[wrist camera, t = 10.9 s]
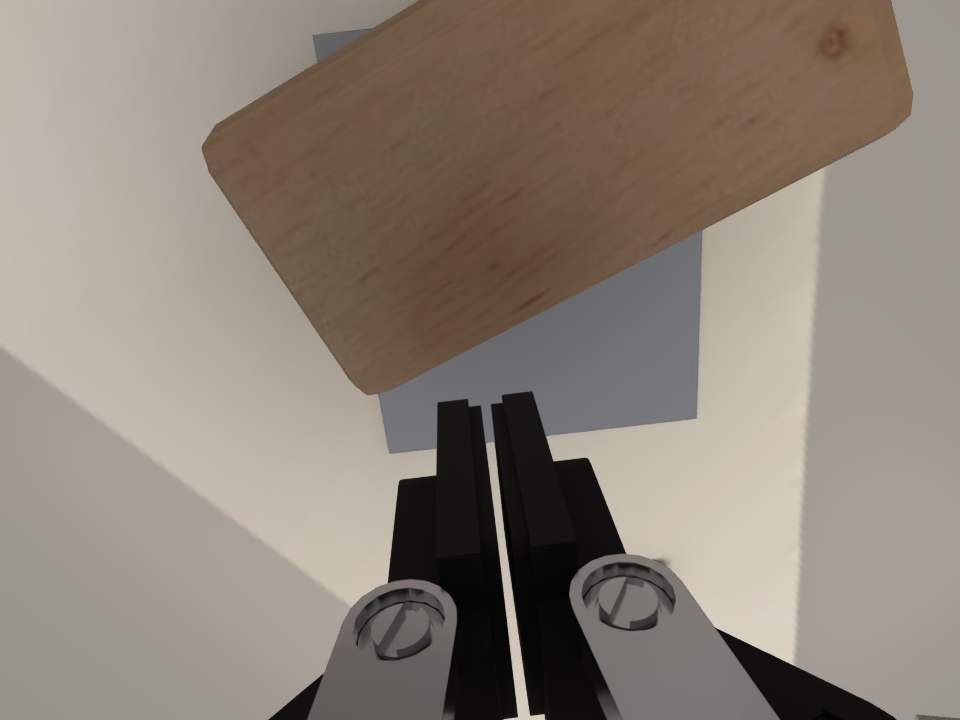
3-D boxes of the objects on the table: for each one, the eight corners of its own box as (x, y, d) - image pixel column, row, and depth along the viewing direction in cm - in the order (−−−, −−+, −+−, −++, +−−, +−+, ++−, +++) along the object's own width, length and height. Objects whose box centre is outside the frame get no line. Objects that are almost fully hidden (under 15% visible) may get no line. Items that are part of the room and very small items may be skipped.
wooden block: (361, 415, 21) (937, 121, 19) (174, 143, 18) (848, -269, 15) (388, 322, 31) (775, 116, 28) (268, 131, 27) (697, -127, 24)
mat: (313, 36, 26) (312, 35, 26) (706, -9, 26) (709, -10, 26) (389, 451, 34) (389, 453, 33) (694, 416, 34) (696, 418, 34)
